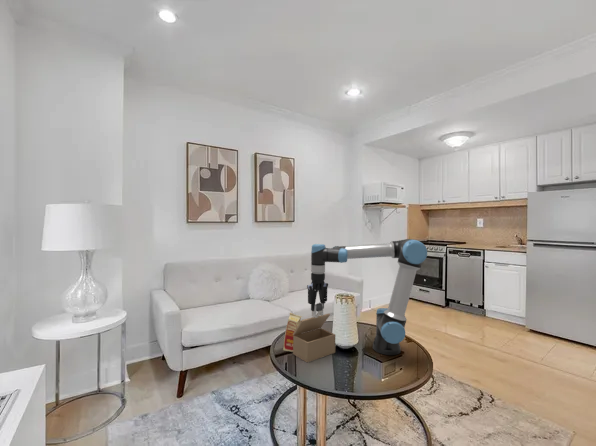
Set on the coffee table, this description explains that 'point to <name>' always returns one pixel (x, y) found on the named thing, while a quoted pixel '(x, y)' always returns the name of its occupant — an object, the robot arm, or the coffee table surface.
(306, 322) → the carton lid
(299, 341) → the carton
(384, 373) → the coffee table surface
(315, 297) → the robot arm
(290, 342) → the milk carton
